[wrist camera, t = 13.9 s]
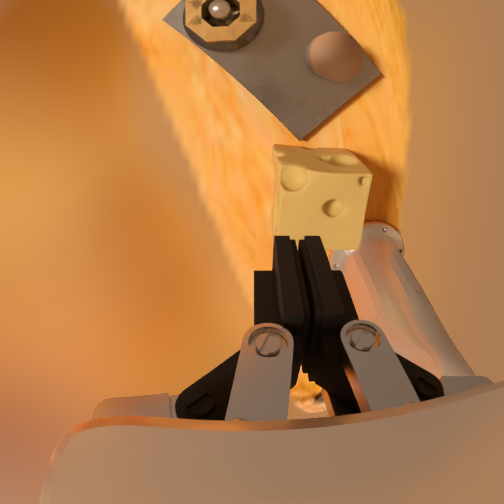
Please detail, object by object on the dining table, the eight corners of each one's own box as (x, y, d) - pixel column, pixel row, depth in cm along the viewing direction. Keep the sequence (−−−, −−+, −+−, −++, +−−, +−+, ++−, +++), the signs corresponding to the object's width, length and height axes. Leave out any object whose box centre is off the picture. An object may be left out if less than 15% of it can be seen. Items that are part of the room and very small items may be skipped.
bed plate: (377, 73, 31) (381, 73, 30) (298, 139, 37) (299, 141, 36) (247, -51, 22) (247, -54, 21) (165, 20, 27) (162, 19, 26)
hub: (279, 19, 28) (286, 8, 22) (225, 66, 31) (219, 66, 25) (225, -25, 24) (219, -44, 18) (172, 23, 28) (154, 15, 22)
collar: (255, -12, 23) (256, -20, 20) (255, 42, 27) (256, 39, 24) (191, -9, 23) (185, -16, 20) (192, 45, 27) (185, 43, 24)
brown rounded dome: (361, 61, 30) (373, 61, 27) (327, 88, 33) (336, 91, 29) (329, 26, 28) (338, 21, 24) (294, 53, 30) (299, 52, 27)
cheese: (271, 142, 37) (277, 167, 29) (352, 146, 37) (380, 172, 29) (269, 214, 43) (273, 255, 35) (342, 215, 43) (363, 255, 35)
